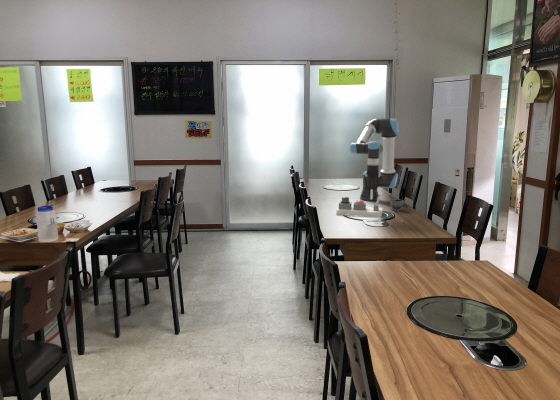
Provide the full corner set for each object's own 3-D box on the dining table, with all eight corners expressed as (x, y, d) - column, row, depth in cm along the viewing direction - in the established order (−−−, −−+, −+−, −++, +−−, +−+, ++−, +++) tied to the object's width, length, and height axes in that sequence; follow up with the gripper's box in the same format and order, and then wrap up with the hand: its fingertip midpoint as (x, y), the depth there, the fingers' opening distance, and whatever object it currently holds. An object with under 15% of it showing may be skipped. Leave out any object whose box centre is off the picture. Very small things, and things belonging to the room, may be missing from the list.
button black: (342, 203, 316) (342, 196, 315) (349, 204, 315) (349, 197, 314) (341, 205, 312) (341, 198, 311) (348, 205, 310) (348, 198, 310)
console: (339, 209, 323) (339, 200, 322) (382, 212, 316) (382, 202, 315) (336, 214, 308) (336, 204, 307) (381, 217, 301) (381, 206, 300)
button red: (356, 207, 314) (356, 200, 313) (363, 207, 313) (363, 200, 312) (355, 208, 310) (356, 201, 309) (363, 209, 308) (363, 201, 308)
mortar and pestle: (402, 208, 329) (403, 192, 327) (404, 211, 320) (405, 194, 317) (386, 208, 330) (387, 192, 327) (388, 211, 320) (389, 194, 318)
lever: (375, 207, 311) (378, 194, 309) (377, 208, 311) (380, 195, 308) (374, 208, 307) (378, 195, 305) (376, 209, 307) (380, 196, 305)
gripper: (362, 164, 302) (361, 199, 306) (382, 165, 299) (381, 200, 303) (363, 163, 309) (362, 197, 313) (383, 164, 306) (381, 198, 311)
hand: (371, 199), depth 308 cm, fingers closed
